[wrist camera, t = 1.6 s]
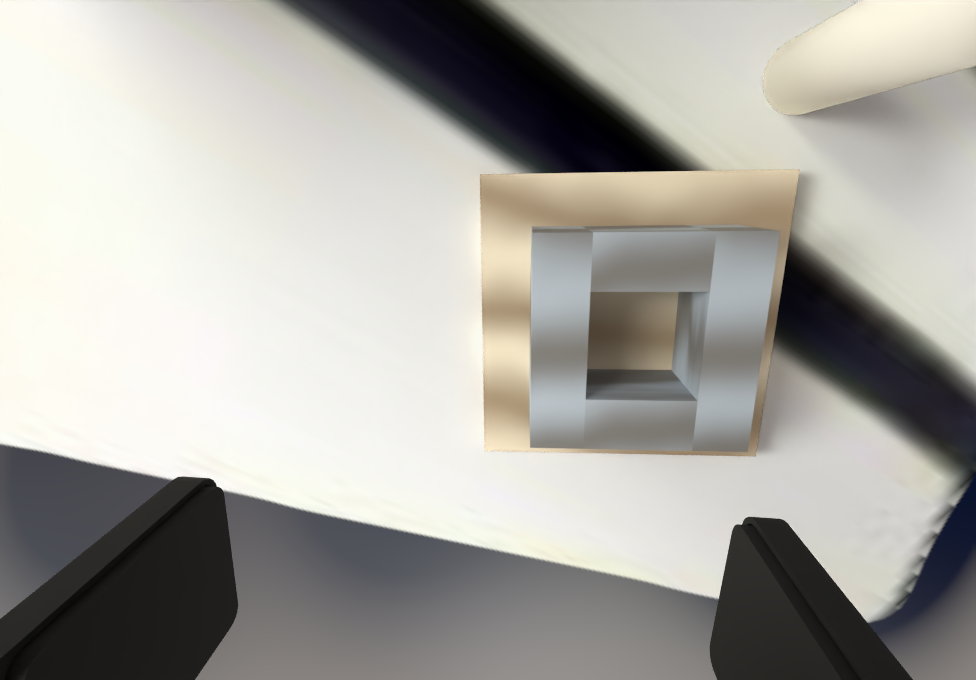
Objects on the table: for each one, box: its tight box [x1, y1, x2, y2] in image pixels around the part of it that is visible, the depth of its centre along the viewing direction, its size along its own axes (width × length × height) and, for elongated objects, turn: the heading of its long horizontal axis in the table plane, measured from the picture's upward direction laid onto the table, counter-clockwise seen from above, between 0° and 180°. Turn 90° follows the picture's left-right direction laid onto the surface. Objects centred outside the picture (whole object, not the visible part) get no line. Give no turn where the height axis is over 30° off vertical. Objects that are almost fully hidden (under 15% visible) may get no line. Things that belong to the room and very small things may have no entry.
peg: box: [763, 0, 976, 115], centre depth 23 cm, size 4×4×12 cm
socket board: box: [480, 169, 800, 456], centre depth 30 cm, size 18×18×6 cm
